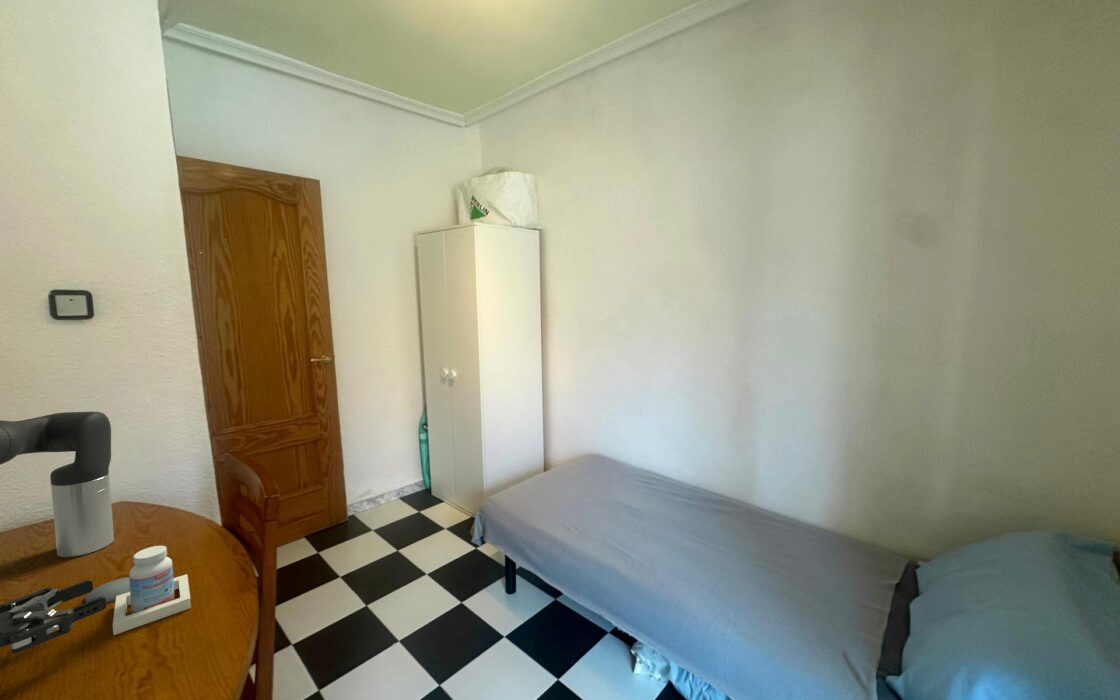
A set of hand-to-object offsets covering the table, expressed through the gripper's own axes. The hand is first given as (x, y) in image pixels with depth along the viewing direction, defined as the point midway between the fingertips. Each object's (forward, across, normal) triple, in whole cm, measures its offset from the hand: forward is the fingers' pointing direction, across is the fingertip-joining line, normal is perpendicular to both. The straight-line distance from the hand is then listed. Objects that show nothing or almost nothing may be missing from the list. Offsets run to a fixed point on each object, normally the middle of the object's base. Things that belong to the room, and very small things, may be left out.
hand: (98, 593), depth 76 cm
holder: (+7, 0, +7) cm, 10 cm away
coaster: (+4, +12, +7) cm, 15 cm away
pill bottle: (+7, 0, +7) cm, 10 cm away
